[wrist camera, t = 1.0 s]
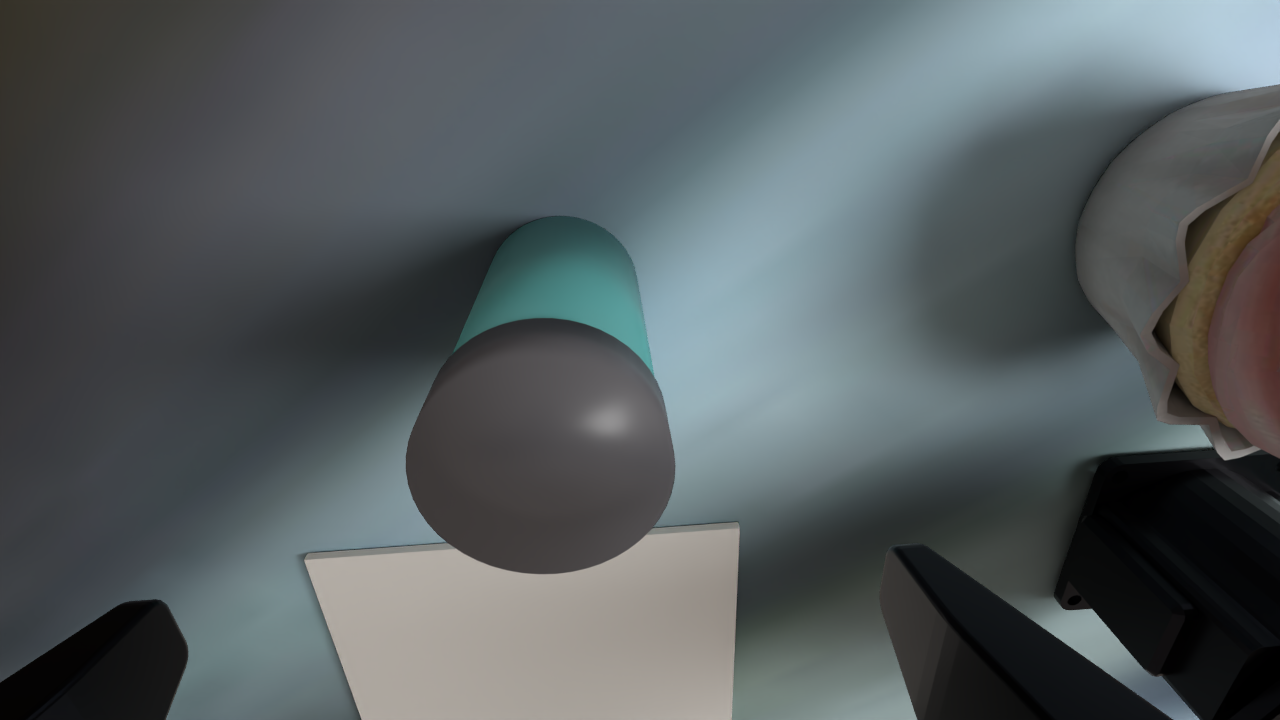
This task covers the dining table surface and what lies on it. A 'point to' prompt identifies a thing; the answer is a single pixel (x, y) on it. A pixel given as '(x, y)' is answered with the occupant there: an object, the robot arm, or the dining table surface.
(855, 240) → the dining table surface
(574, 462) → the marker
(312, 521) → the dining table surface
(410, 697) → the paper
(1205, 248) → the cupcake
